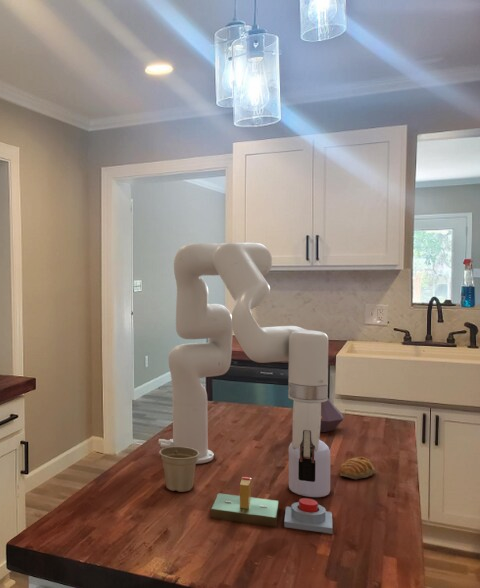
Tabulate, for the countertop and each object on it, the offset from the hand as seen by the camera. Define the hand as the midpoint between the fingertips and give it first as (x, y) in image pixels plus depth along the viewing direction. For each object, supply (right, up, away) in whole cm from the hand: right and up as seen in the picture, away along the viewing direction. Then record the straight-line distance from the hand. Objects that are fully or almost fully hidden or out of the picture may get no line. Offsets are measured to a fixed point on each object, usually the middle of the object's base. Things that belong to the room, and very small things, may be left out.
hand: (306, 479), depth 119 cm
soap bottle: (+7, -8, +17) cm, 20 cm away
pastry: (+23, -8, +27) cm, 36 cm away
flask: (+30, -6, +69) cm, 75 cm away
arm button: (0, -6, 0) cm, 6 cm away
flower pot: (-23, -9, +20) cm, 32 cm away
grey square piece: (0, -9, 0) cm, 9 cm away
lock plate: (-11, -9, +5) cm, 15 cm away
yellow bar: (-11, -7, +5) cm, 14 cm away
